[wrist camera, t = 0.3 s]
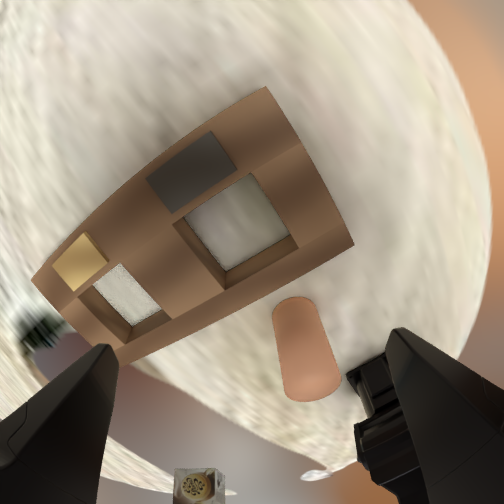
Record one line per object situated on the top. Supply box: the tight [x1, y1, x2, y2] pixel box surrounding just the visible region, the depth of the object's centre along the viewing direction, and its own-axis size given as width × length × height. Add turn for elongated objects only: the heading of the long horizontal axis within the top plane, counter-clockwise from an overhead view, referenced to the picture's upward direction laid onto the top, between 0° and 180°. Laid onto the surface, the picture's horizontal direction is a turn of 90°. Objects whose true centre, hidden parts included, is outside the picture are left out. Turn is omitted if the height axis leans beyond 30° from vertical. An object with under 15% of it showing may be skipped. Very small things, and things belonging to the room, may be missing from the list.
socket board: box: [31, 86, 355, 368], centre depth 20 cm, size 12×24×3 cm, turn 122°
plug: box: [272, 297, 341, 402], centre depth 21 cm, size 4×4×8 cm
